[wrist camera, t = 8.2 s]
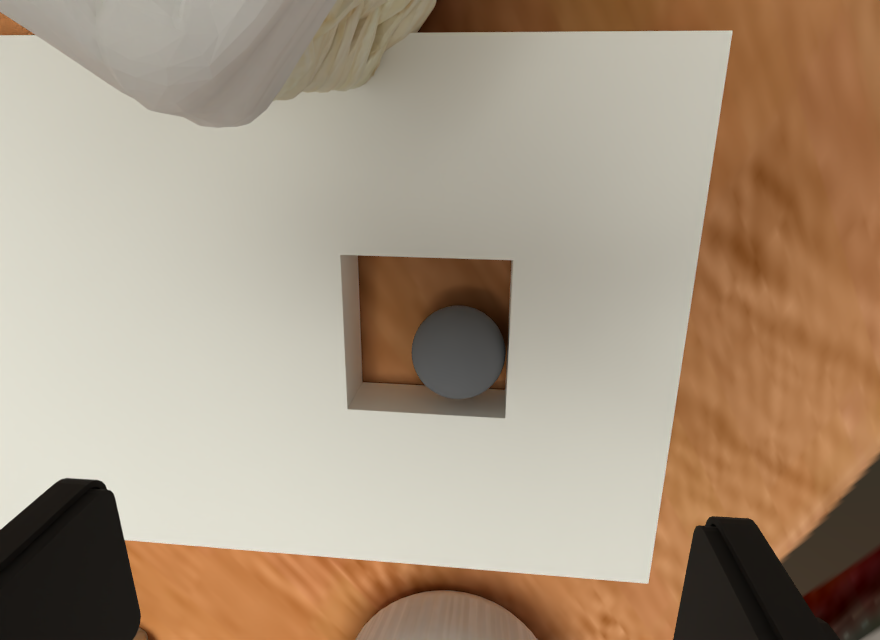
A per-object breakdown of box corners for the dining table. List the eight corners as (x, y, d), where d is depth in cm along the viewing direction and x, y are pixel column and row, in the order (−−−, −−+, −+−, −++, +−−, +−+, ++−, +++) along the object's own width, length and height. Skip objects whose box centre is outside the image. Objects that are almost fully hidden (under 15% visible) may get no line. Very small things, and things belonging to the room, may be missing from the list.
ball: (443, 340, 19) (527, 315, 20) (393, 303, 22) (471, 284, 23) (444, 428, 20) (522, 399, 22) (396, 384, 23) (469, 361, 25)
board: (-30, 490, 29) (-78, 522, 26) (-159, 46, 22) (-238, 37, 20) (635, 541, 26) (648, 583, 23) (704, 42, 19) (732, 30, 17)
